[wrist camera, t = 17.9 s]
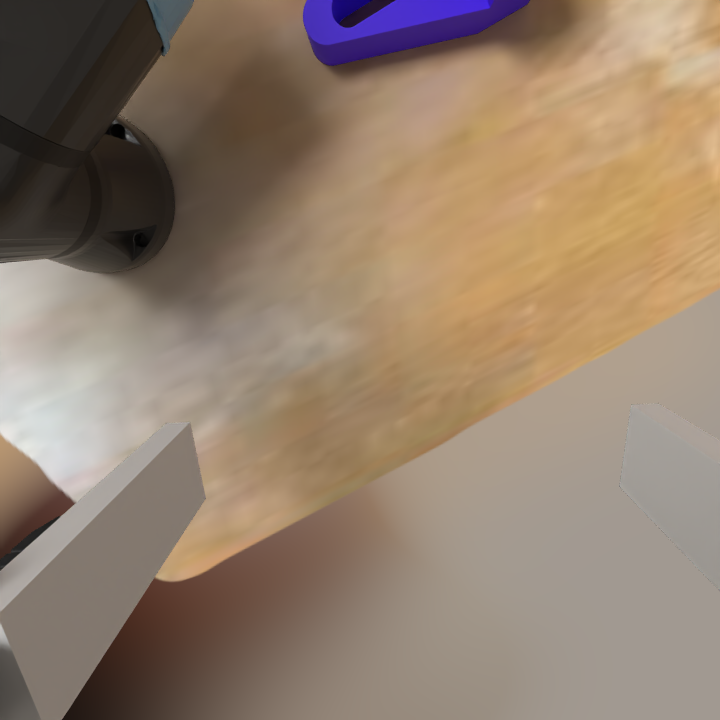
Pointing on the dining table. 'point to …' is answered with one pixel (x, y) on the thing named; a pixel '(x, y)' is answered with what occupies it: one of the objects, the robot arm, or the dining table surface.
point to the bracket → (396, 25)
